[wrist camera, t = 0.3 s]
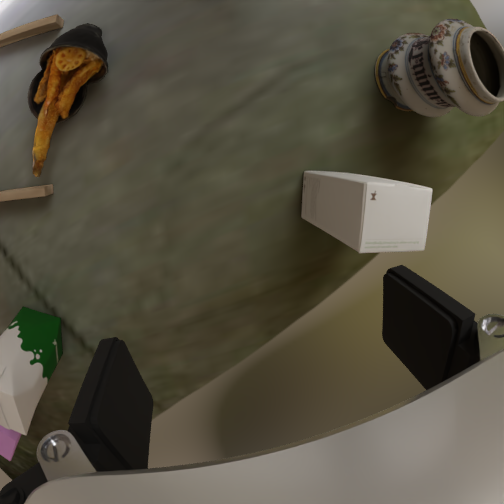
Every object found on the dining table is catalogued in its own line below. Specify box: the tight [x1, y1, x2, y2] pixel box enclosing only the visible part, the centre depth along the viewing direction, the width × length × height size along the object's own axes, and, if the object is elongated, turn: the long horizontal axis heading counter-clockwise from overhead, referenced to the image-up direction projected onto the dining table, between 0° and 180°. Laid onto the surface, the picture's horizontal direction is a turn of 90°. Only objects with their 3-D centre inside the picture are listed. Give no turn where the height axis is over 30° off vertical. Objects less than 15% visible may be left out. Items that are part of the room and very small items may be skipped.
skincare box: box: [301, 171, 432, 253], centre depth 32 cm, size 8×7×16 cm
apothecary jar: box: [375, 19, 504, 117], centre depth 27 cm, size 12×12×18 cm
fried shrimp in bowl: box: [28, 23, 108, 177], centre depth 26 cm, size 9×11×18 cm
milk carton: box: [0, 307, 63, 436], centre depth 30 cm, size 9×9×20 cm
